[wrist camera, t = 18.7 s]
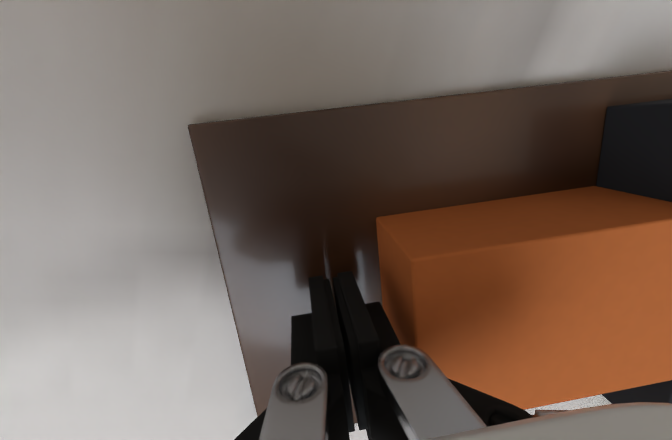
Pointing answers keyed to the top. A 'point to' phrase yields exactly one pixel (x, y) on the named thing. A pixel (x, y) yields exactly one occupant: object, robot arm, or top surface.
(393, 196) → the board
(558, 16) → the top surface
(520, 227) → the loose pad
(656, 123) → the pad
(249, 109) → the top surface
